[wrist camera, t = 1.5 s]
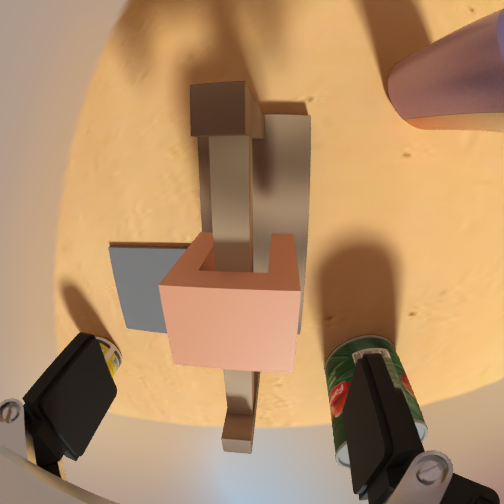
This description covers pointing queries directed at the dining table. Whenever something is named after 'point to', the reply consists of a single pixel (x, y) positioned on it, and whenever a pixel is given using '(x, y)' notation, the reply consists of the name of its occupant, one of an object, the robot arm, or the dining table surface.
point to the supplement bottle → (110, 355)
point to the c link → (233, 310)
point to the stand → (249, 206)
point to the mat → (142, 283)
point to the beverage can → (454, 80)
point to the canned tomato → (340, 379)
